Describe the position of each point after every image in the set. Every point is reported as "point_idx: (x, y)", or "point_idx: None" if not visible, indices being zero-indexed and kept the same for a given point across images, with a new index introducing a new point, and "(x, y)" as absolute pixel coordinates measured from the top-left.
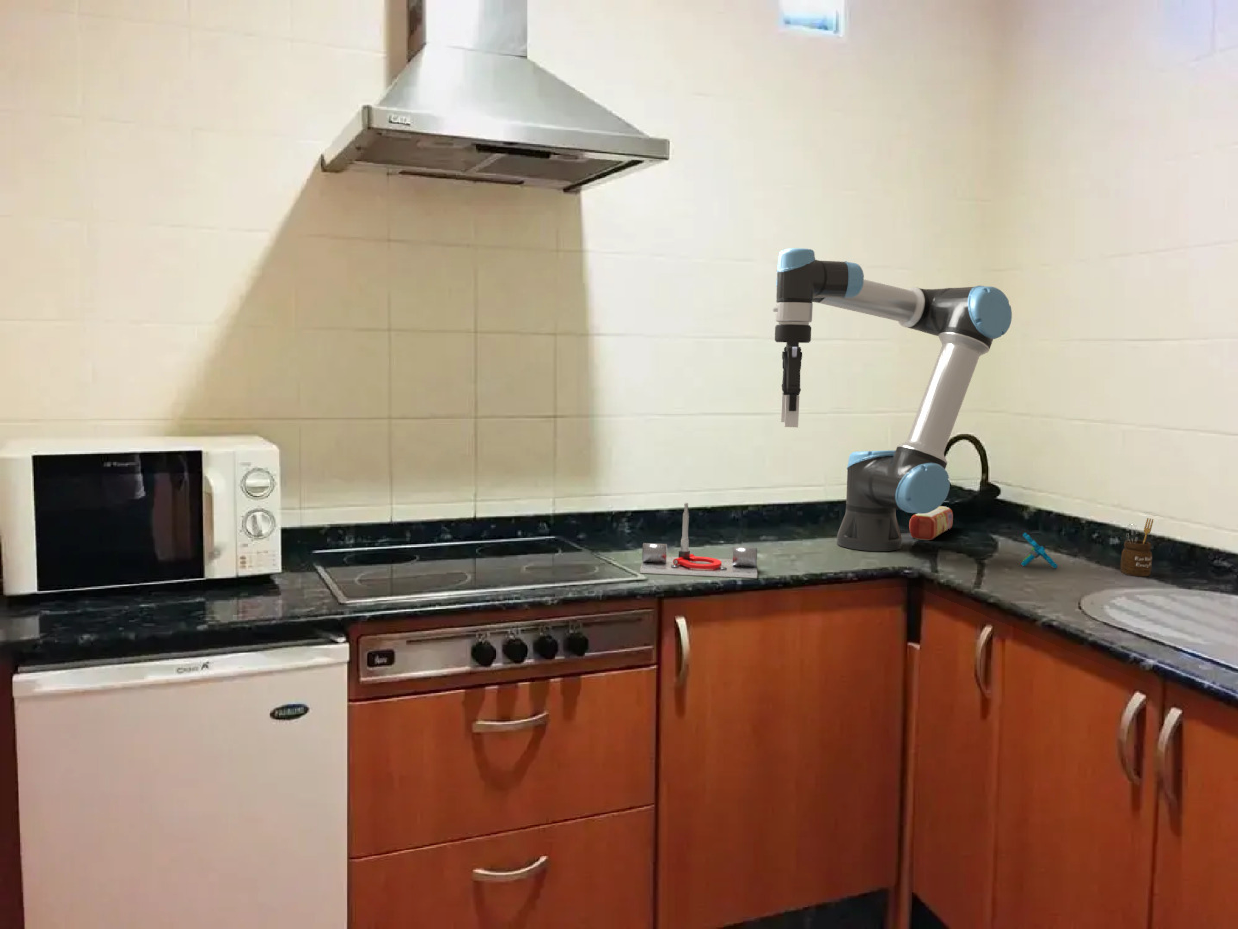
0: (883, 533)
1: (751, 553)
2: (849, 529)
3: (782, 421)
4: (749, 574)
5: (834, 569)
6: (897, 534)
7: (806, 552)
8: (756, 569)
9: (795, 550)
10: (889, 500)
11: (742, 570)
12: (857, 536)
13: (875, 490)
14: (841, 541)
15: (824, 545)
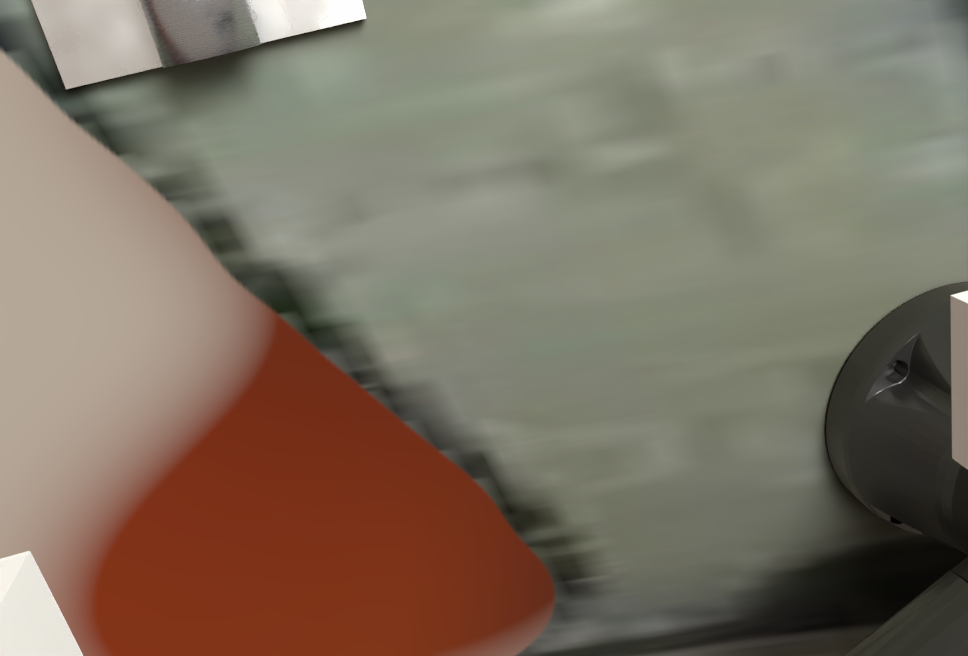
0: (885, 503)
1: (156, 36)
2: (930, 370)
3: (959, 317)
4: (53, 50)
5: (430, 361)
6: (928, 536)
7: (736, 193)
8: (151, 67)
9: (765, 139)
10: (865, 646)
11: (90, 4)
12: (878, 399)
13: (954, 603)
14: (906, 317)
15: (909, 239)
